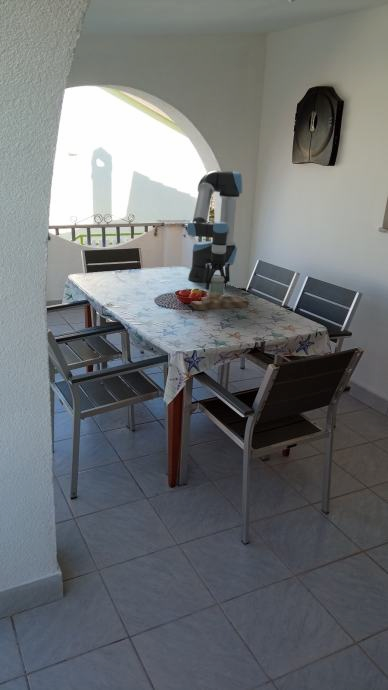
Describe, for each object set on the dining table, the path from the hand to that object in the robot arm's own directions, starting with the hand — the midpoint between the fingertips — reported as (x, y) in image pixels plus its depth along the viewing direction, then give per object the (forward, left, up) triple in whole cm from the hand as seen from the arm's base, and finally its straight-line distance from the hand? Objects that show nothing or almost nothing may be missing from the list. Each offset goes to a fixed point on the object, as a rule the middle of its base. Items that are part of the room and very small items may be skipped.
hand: (215, 294), depth 274 cm
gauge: (+10, +13, +1) cm, 16 cm away
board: (+4, +12, -2) cm, 12 cm away
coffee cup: (0, 0, -2) cm, 2 cm away
